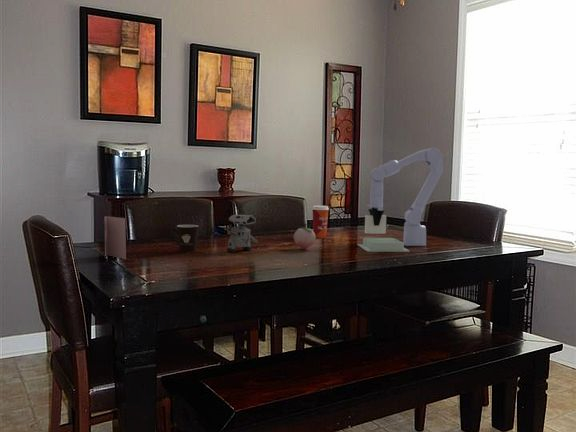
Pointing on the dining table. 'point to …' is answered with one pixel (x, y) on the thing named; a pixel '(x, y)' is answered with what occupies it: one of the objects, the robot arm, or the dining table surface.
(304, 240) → the decorative fruit
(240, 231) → the figurine
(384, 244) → the dish rack
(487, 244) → the dining table surface
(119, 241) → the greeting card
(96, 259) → the dining table surface
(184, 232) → the coffee mug
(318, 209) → the coffee cup
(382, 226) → the tile plate
